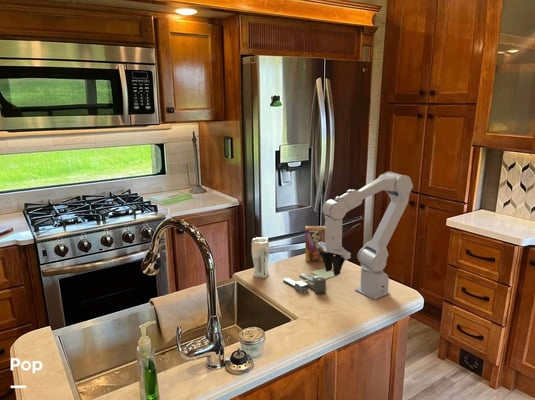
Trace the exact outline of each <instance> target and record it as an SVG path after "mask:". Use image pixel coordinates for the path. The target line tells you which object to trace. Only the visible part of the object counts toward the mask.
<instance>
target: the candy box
mask: <svg viewBox="0 0 535 400" xmlns="http://www.w3.org/2000/svg"><path fill="white" fill-rule="evenodd" d="M304 232H305V233H304V234H305V238H304V239H305V262H307V263H309V262H310V263H311V262H312V263H314V262H315V263H316V262H317V263H321V262H322V263H324V262H323V259H322V257H321V255H320V252H321V251H322V250H323V249H321V248H317V243H318V242H324V243H325V225H305V230H304Z"/></svg>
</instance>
